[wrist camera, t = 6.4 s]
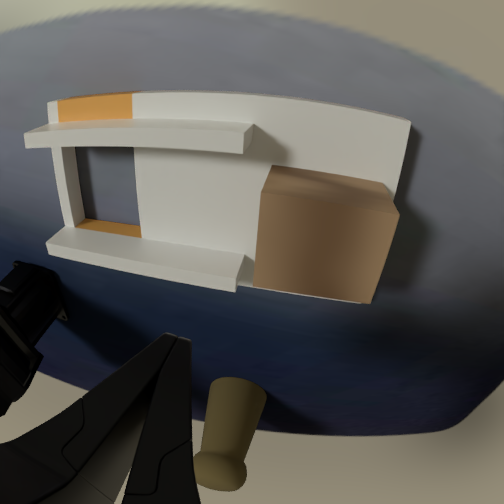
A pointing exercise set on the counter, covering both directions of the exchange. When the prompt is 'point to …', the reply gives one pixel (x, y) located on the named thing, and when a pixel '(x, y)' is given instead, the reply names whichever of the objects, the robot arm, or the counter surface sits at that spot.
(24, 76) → the counter surface
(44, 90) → the counter surface
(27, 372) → the robot arm
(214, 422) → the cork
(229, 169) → the white mounting bracket
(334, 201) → the walnut block
